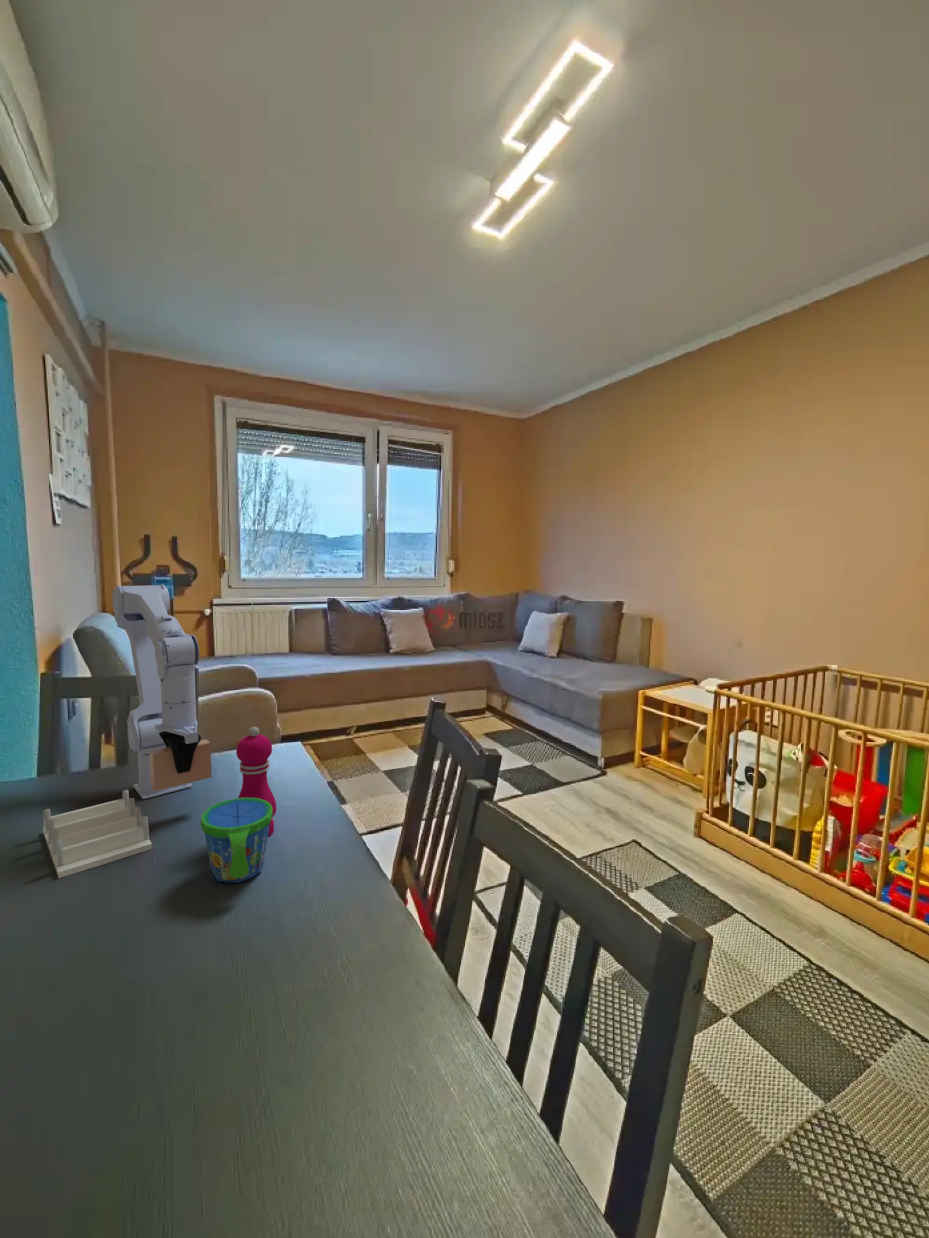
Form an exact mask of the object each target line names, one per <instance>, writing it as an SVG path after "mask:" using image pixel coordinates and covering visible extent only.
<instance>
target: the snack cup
mask: <svg viewBox="0 0 929 1238" xmlns="http://www.w3.org/2000/svg"><path fill="white" fill-rule="evenodd" d="M272 816H273V809H272V806H271V804H270V803H269V802H267V801H265V800H262V799H258V798H238V797H237V798H231V799H228V800H226V799H225V800H223V801H219V802H218V803H216V804H214V805H212V806H210V807H208V808H207V809H206V810H204V812H203V813H202V815H201V818H200V826H201V830H202V832H203V833H204V836H205V837H204V838H205V842H206V848H207V853H208V857H209V863H210V867H211V870H212V874H213V876H214V878H215V879H216V880H217V882H224V883H229V884H230V883H233V884H234V883H235V884H236V883H238V884H239V883H241V882H244V881H247V880H249V879H251V878H253V877H255V876H256V875H257V874H260V873H261V872H262V869H263V866H264V862H265V858H266V850H267V844H268V838H269V837H268V832H269V824H270V822H271V820H272V819H273V818H272ZM273 817H274V816H273Z"/></svg>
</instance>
